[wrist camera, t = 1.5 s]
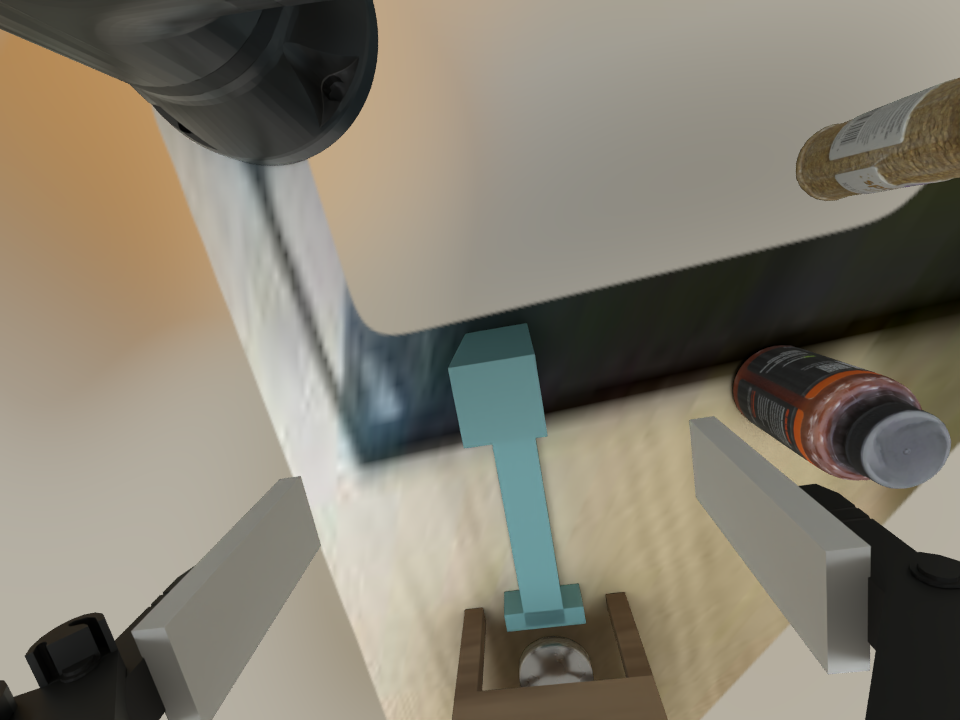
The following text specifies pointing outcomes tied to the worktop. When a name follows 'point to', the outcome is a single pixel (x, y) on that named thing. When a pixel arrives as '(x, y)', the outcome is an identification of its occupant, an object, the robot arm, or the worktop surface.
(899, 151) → the sprinkles bottle
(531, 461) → the teal stepped block
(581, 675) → the silver flat disc
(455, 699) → the cabinet
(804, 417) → the supplement bottle
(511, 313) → the worktop surface
